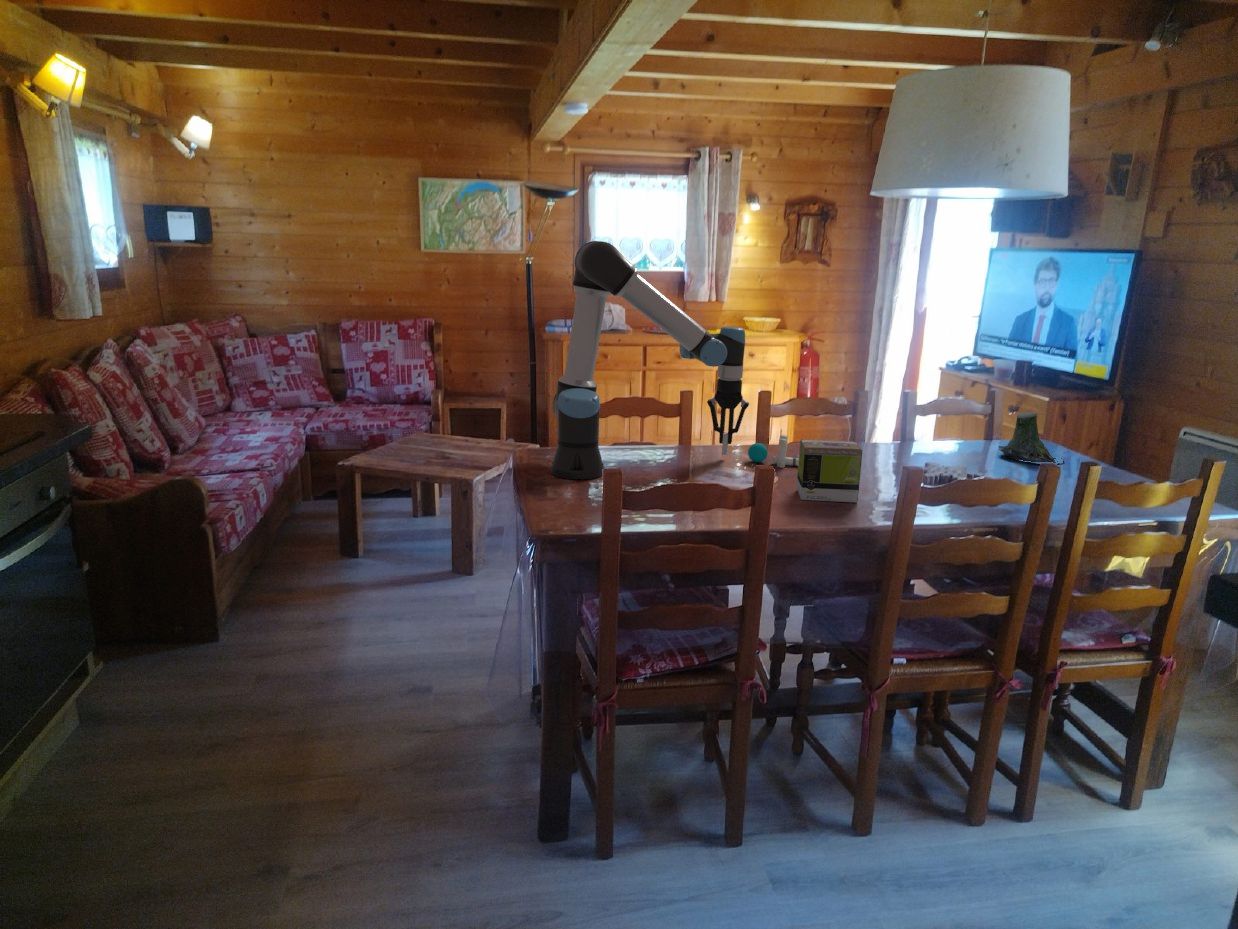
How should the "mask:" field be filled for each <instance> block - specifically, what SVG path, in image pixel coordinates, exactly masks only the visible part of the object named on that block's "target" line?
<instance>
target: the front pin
mask: <svg viewBox="0 0 1238 929" xmlns="http://www.w3.org/2000/svg"><path fill="white" fill-rule="evenodd" d="M777 460H778V456H776V455H775V456H774V455H773V456H772V465H777ZM798 465H799V457H788V456H786V461H785V466H793V467H798Z"/></svg>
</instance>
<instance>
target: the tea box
mask: <svg viewBox="0 0 1238 929" xmlns="http://www.w3.org/2000/svg"><path fill="white" fill-rule="evenodd" d="M798 458H799V465H798V466H797V467H798V468H797V476H796V478H797V480H796V490H797V492H798V496H799V497H800V500H801V501H802V500H803V501H815V502H816V501H818V502H821V501H822V502H838V503H839V502H842V503H855V504H857V503H858V502H859V493H860V492H859V491H860V484H861V482H860V481H861V469H862V459H863V449H862V448H861V447H860V446H859V445H858V443H857V441H853V440H851V441H848V440H847V441H846V440H825V439H800V441H799V454H798Z"/></svg>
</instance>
